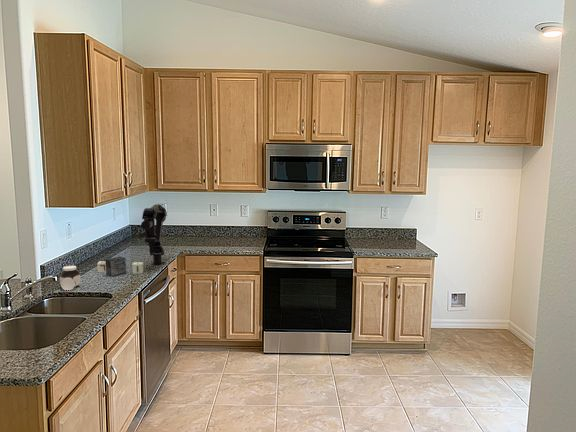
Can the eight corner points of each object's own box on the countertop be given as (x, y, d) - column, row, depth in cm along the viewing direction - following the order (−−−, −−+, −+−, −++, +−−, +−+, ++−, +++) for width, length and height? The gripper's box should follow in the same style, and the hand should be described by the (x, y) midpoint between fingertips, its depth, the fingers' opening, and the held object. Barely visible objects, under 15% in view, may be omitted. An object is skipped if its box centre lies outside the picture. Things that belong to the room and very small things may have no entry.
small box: (121, 271, 288) (120, 255, 287) (126, 273, 284) (126, 257, 283) (105, 275, 280) (104, 258, 279) (111, 276, 276) (110, 260, 275)
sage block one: (133, 271, 289) (133, 262, 289) (143, 271, 291) (143, 261, 290) (132, 274, 283) (132, 264, 282) (142, 273, 285) (142, 263, 284)
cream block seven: (99, 270, 292) (98, 261, 291) (109, 269, 293) (108, 260, 292) (97, 272, 286) (97, 263, 285) (107, 272, 287) (107, 262, 286)
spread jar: (76, 284, 260) (75, 264, 259) (85, 287, 253) (84, 267, 252) (55, 288, 251) (53, 268, 250) (64, 292, 244) (62, 271, 243)
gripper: (138, 225, 301) (139, 248, 303) (136, 229, 283) (137, 254, 285) (155, 225, 304) (156, 247, 306) (154, 229, 286) (155, 253, 288)
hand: (151, 250), depth 296 cm, fingers closed
